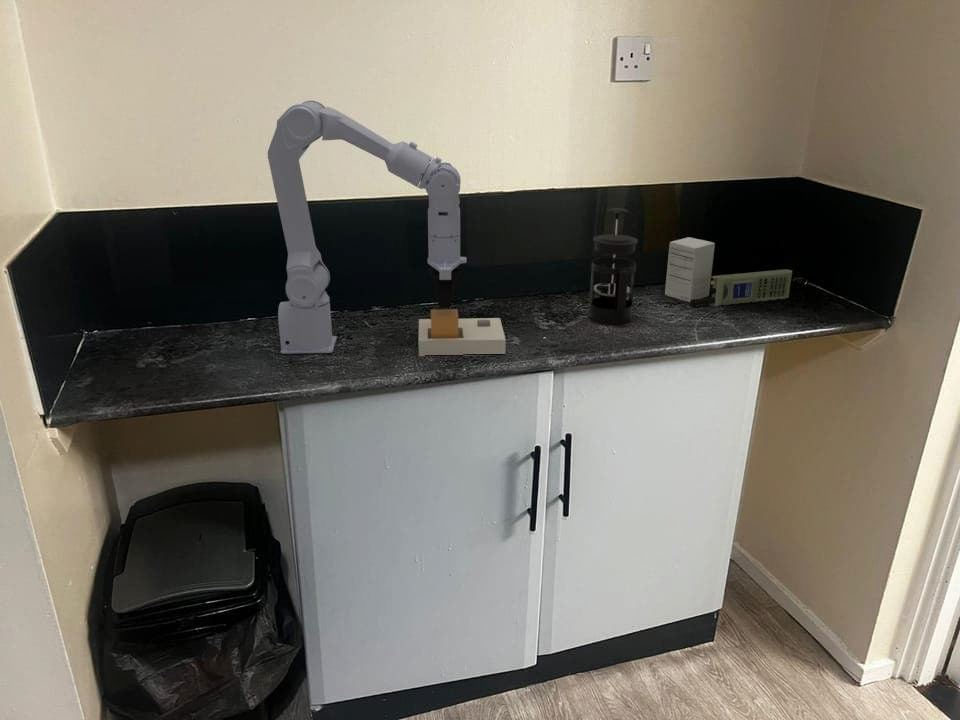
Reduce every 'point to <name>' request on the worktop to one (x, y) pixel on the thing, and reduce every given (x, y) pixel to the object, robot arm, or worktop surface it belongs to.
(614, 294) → the french press
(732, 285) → the handheld radio
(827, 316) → the worktop surface
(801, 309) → the worktop surface
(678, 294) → the grey drawer unit
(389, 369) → the worktop surface
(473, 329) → the socket
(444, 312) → the plug
